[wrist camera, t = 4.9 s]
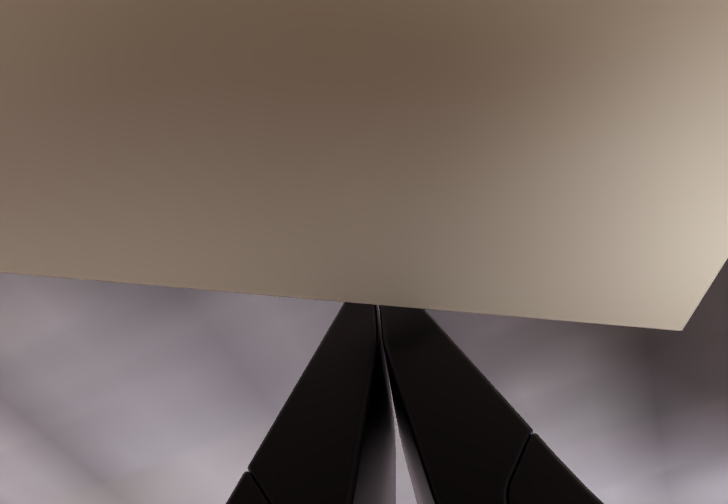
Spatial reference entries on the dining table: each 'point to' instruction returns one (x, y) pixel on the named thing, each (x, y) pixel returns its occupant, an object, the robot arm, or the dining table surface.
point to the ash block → (373, 151)
